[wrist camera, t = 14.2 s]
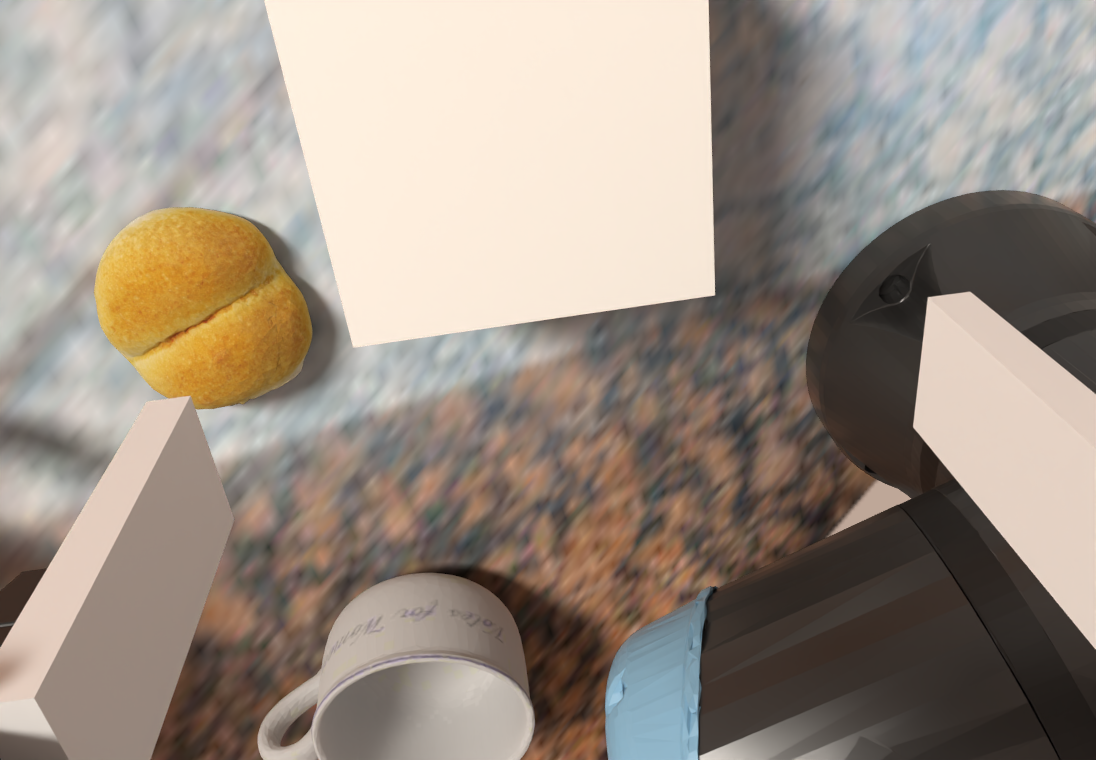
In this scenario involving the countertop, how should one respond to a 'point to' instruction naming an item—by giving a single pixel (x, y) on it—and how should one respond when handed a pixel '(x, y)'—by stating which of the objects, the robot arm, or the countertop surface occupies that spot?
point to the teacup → (413, 679)
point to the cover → (503, 156)
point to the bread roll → (202, 307)
